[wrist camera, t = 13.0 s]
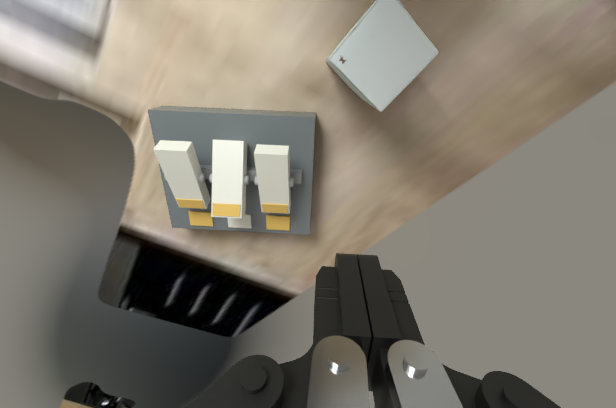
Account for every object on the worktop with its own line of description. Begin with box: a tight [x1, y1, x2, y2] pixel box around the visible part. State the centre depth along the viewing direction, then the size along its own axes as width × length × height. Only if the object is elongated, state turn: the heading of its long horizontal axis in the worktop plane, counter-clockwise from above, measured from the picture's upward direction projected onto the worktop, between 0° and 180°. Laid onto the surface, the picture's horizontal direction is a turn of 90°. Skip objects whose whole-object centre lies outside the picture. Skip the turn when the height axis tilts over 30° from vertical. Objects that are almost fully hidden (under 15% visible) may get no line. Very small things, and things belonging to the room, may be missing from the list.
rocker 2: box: [254, 144, 294, 214], centre depth 37 cm, size 10×5×2 cm, turn 178°
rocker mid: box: [209, 140, 249, 218], centre depth 37 cm, size 10×5×2 cm, turn 178°
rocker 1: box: [153, 140, 211, 209], centre depth 37 cm, size 10×5×2 cm, turn 177°
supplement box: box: [326, 0, 439, 112], centre depth 31 cm, size 7×7×13 cm
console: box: [148, 106, 316, 235], centre depth 42 cm, size 18×22×5 cm
